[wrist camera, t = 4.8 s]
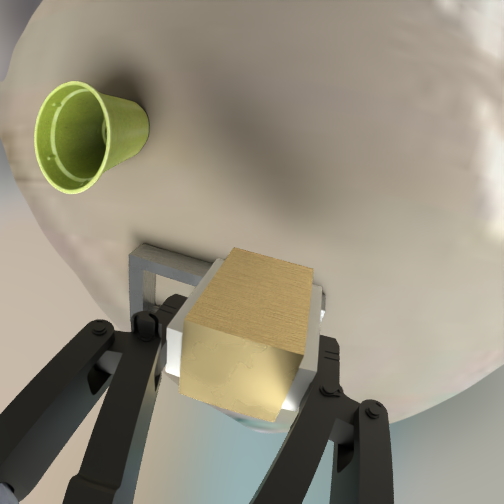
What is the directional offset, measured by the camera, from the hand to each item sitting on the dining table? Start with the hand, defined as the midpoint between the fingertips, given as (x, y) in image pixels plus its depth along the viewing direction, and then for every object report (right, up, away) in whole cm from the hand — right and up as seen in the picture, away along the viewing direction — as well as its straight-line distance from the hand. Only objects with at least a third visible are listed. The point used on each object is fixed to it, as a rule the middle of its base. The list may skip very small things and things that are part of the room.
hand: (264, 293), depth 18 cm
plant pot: (-14, +15, +11) cm, 23 cm away
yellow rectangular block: (0, 0, 0) cm, 0 cm away
